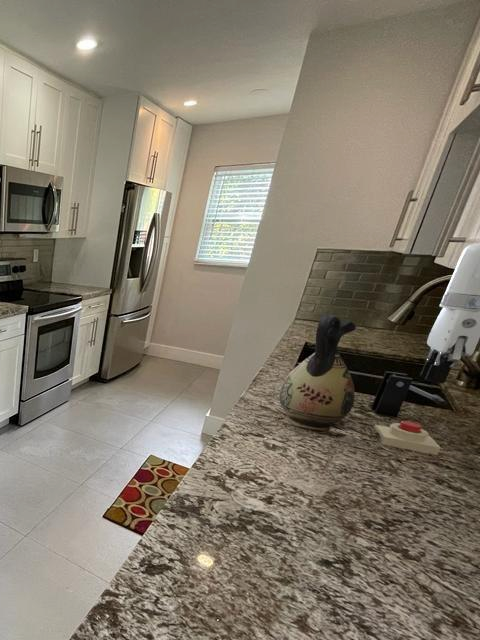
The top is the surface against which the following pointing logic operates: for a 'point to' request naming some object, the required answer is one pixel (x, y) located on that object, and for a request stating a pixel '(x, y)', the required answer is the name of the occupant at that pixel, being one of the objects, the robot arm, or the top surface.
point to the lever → (427, 395)
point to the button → (410, 426)
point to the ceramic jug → (320, 381)
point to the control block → (407, 439)
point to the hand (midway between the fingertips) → (431, 379)
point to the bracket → (391, 394)
